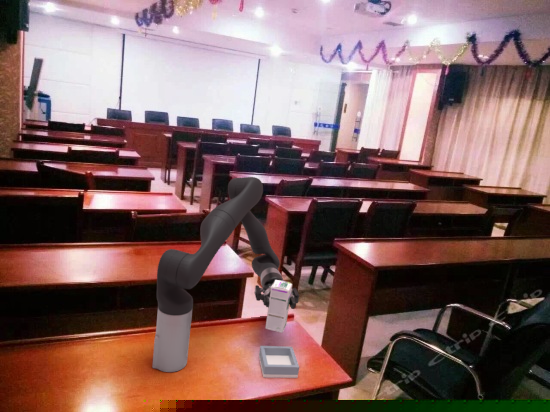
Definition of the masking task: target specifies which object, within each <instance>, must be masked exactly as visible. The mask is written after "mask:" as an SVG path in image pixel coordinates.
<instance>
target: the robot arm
mask: <svg viewBox="0 0 550 412" xmlns="http://www.w3.org/2000/svg"><path fill="white" fill-rule="evenodd" d="M227 193H228V197H229V200H227V201H225V202H223V203H221V204H219V205H217V206H216V207H214V208H213V209H212V210H211V211H210V212H209V213H208V214H207V216H206V217H205V218H204V219H203V220H202V222H201V224H200V229H199V230H200V232H199V234H200V240H201V241H200V243H201V244H200V247H199V248H198V250H197V251H196V252H194V253H189V252H186V251H183V250H178V249H175V248H169V249H166V250H165V251H164V252H163V253H162V255H161V256H160V258H159V261H158V265H157V270H156V271H157V272H156V273H157V274H156V300H157V316H156V327H155V333H154V334H155V336H154V343H153V355H152V366H151V367H152V369H156V370H159V371H160V372H165V373H166V372H167V373H175V372H178V371H180V370H182V369H184V368H185V367H186V366H187V364H188V358H189V357H188V356H189V347H190V345H189V344H190V335H191V328H192V327H191V325H192V316H193V307H194V299H193V296H192V295H191V294H190V293H189V292H188V291H187V290H191V289H194V288H195V286H197V284H198V283H199V282H200V280H202V277H203V276H204V274H205V272H206V271H207V269H208V267H209V266H210V264H211V262H212V260H213V259H214V257H215V256H216V254H217V253H218V252H219V250H220V249H221V247H222V246H223V245H224V244H225V242H226V241H227V240H228V239H229V238H230V236H231V235H232V234H233V232H234V231H235V230H236V228H237V226H238V225H239V224H240V223H241V224H242V226H243V228H244V230H245V232H246V236H247V239H248V241H249V242H248V243H249V244H250V248H251V252H252V253H254V254H255V255H257V256H255V257H254V258H253V259H252V261H251V268H252V271H253V272H254V273H255V274H256V275H257V276H258V277H260V284H261V287H260V286H259V285H258V284H257V285H255V287H254V292H253V293H254V296H255V300H256V301H259V302H260V301H261V302H262V303H263V306H265V307H266V308H268V307H269V302H270V301H269V299H270V292H271V286H272V284H273V283H274V282H275V280H281V281H285V280H284V278H283V276H282V274H281V272H280V271H279V267H280V264H281V262H280V259H279V257H278V255H277V254H276V252H275V251H274V249H273V248H272V246H271V244H270V241H269V236H268V233H267V230H266V228H265V226H264V225H263V224H262V222H261V221H259V219H258V218H257V217H256V216H255V214H253V213H252V211H251V210H252V208H254V207H255V206H256V205H257V204H258V203H259V202H260V200H261V199H262V196H263V193H264V185H263V183H262V181H261V180H260V178H258V177H255V176H248V177H247V176H244V177H243V176H242V177H234V178H232V179H230V181H229V182H228V185H227ZM299 299H300V295H299V292H298V290H297V288H296V287H292V289H291V296H290V303H289V308H290V309H291V310H294V309H295V308H296V305H297V304H298V303H299Z"/></svg>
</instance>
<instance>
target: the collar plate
mask: <svg viewBox="0 0 550 412" xmlns="http://www.w3.org/2000/svg"><path fill="white" fill-rule="evenodd" d="M258 352H259V353H258V359H259V364H260V367H261V373H262V377H263V378H272V379H273V378H277V379H278V378H279V379H280V378H282V379H283V378H284V379H298V377H299V372H300V371H299V370H300V366H299V363H298V359H297V356H296V354H295V351H294V348H293V346H281V345H280V346H279V345H259V351H258Z"/></svg>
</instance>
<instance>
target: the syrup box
mask: <svg viewBox="0 0 550 412" xmlns="http://www.w3.org/2000/svg"><path fill="white" fill-rule="evenodd" d="M291 290H293V283H291V282H289V281H286V280H284V281H281V280H275V282H274V283H273V284H272V286H271V292H270V299H269V301H270V302H269V307H267V312H266V313H267V314H266V320H265V321H266V322H265V330H268V331H272V332H277V333H280V334H283V333H284V330H285V328H286V326H287V323H288V315H289V309H290V304H289V303H290V296H291Z"/></svg>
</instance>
